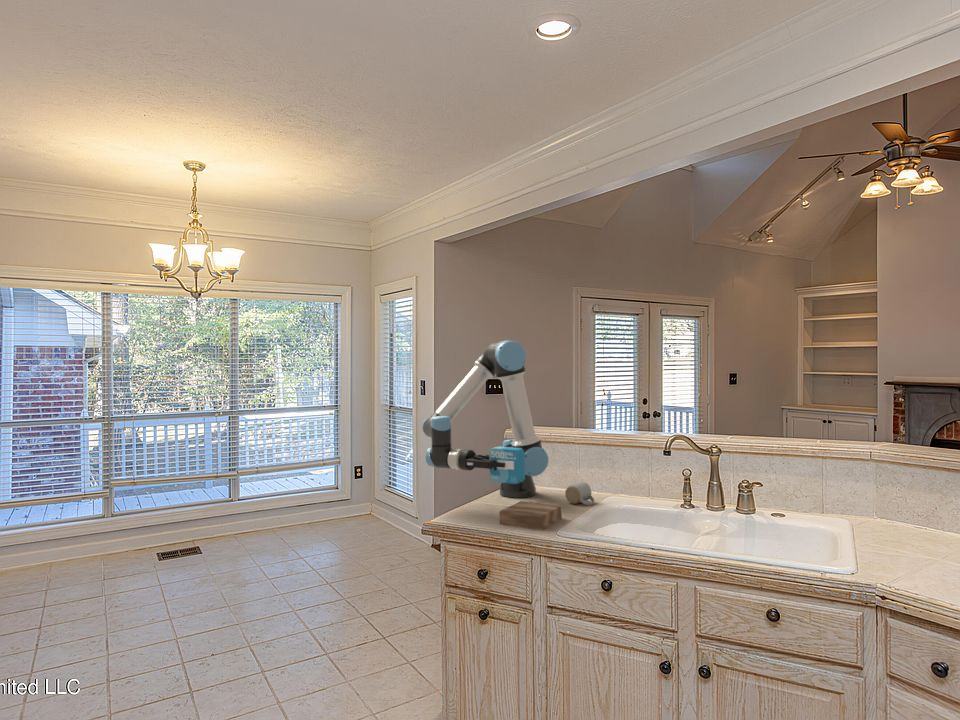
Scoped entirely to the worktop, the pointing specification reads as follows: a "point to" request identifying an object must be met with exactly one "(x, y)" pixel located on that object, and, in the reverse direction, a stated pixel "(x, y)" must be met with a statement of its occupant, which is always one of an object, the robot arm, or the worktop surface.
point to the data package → (508, 474)
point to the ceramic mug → (579, 493)
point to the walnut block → (530, 515)
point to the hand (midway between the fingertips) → (517, 464)
